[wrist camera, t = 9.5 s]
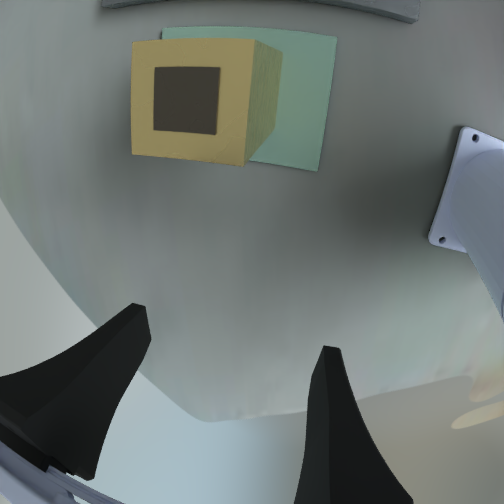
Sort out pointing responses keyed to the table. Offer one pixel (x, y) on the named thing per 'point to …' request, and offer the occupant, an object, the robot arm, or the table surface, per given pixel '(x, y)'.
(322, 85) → the mat
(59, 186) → the table surface
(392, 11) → the grey slotted base board
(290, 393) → the table surface
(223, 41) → the tan box
